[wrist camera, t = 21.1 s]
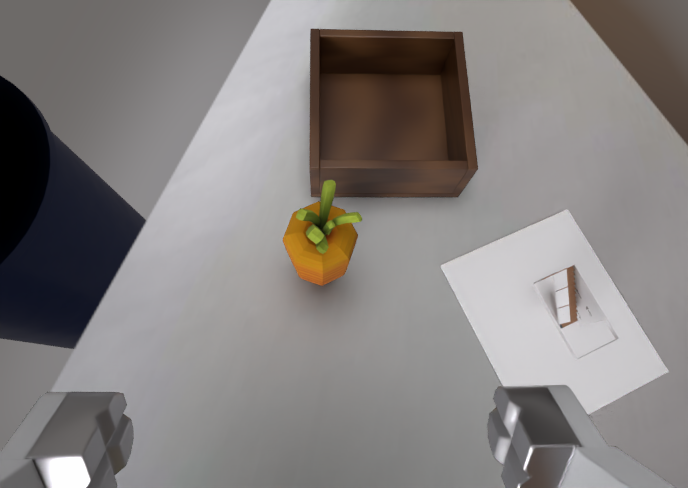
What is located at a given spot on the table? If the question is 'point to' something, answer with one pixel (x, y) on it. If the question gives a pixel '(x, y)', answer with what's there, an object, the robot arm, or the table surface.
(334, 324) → the table surface
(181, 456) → the table surface
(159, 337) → the table surface
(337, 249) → the carrot
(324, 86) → the basket
